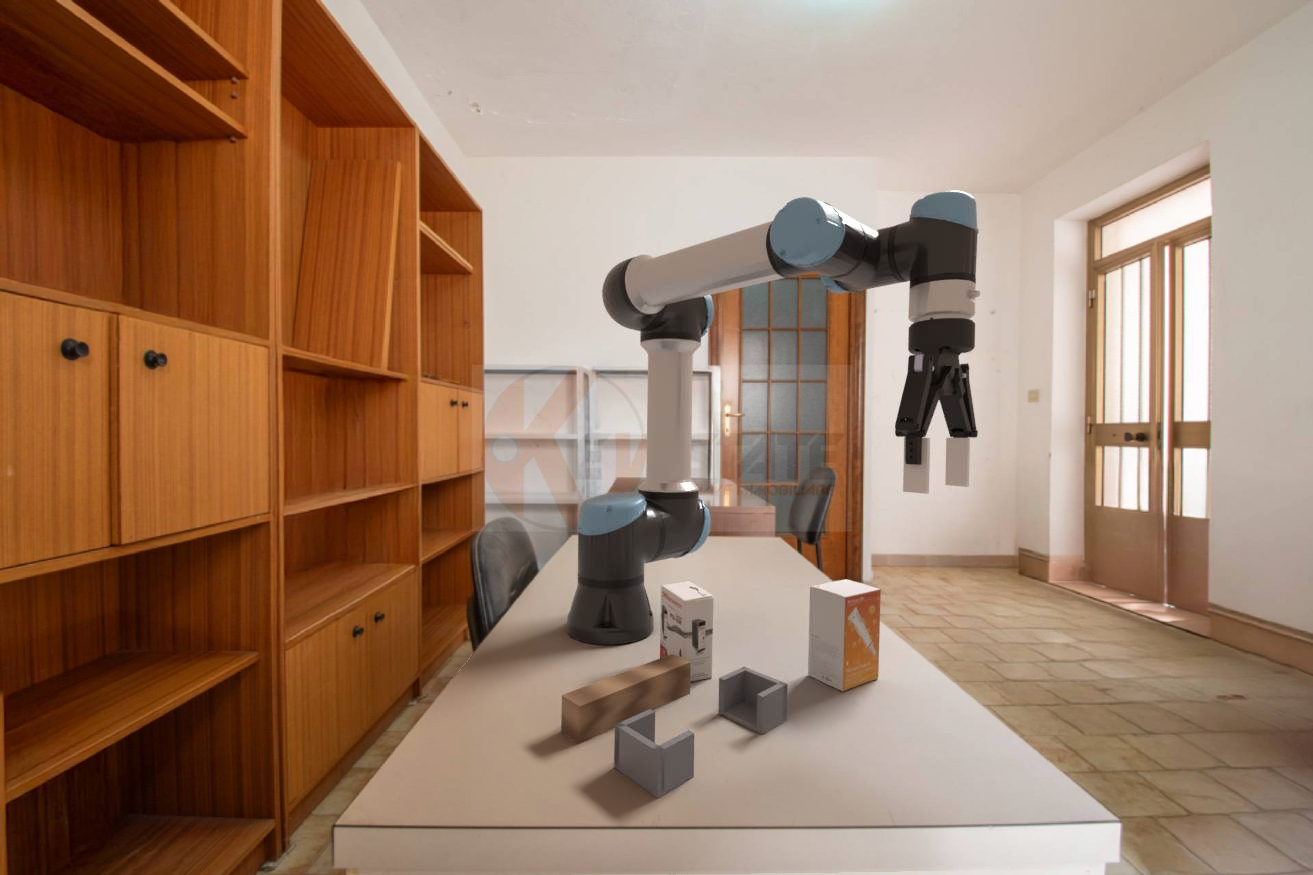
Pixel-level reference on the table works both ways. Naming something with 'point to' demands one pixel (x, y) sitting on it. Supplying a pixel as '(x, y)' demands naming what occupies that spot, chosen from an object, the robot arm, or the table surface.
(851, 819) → the table surface
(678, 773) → the endcap
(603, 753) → the table surface
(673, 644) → the ink box
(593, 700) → the slat
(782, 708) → the endcap
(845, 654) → the small box
